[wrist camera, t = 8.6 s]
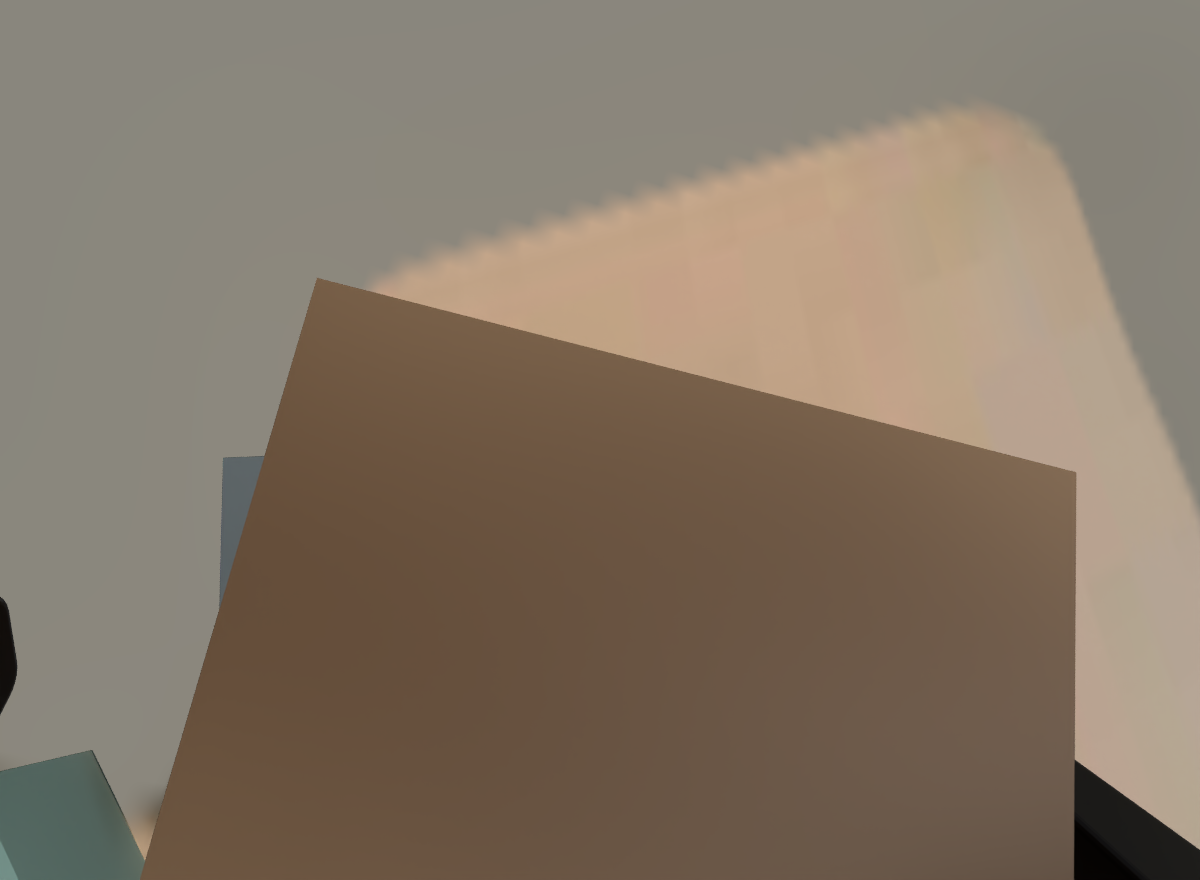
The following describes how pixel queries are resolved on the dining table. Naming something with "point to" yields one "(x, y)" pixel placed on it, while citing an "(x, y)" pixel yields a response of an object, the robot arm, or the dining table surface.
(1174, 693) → the dining table surface
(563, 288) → the dining table surface
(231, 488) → the blue base block
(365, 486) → the walnut pillar
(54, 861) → the teal cube
